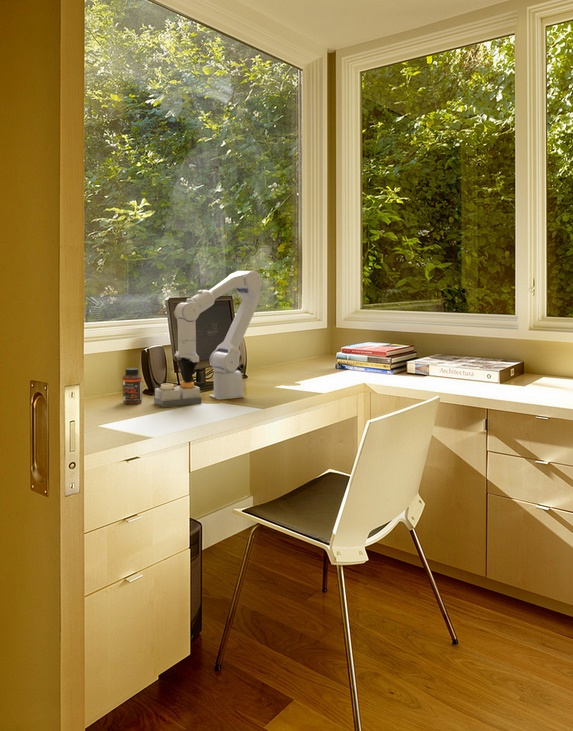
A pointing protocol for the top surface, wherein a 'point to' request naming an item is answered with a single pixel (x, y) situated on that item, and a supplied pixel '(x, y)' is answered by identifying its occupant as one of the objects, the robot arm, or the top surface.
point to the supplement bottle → (132, 387)
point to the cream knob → (167, 386)
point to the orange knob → (187, 385)
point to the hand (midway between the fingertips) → (187, 381)
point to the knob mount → (177, 397)
